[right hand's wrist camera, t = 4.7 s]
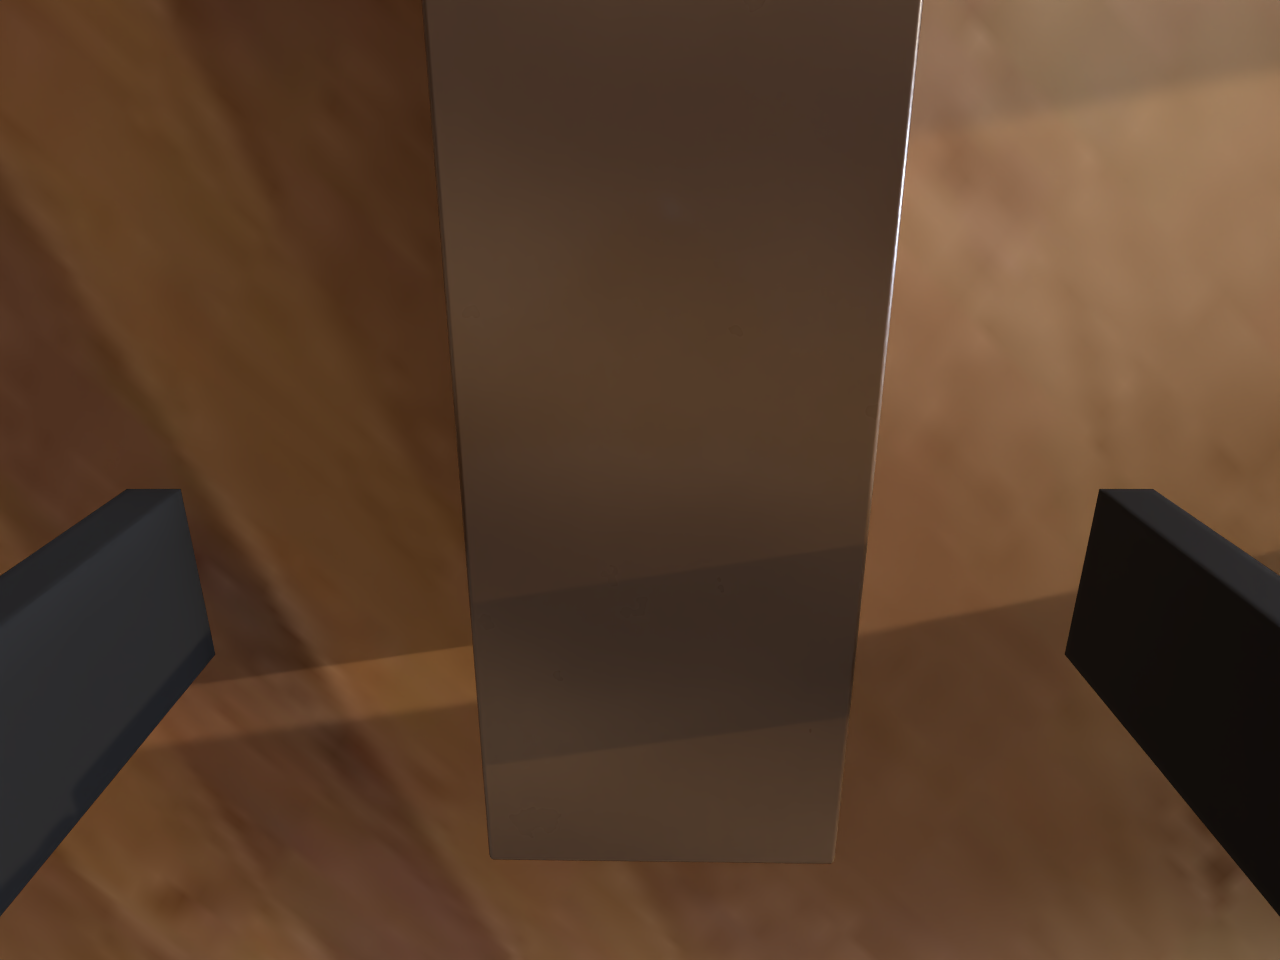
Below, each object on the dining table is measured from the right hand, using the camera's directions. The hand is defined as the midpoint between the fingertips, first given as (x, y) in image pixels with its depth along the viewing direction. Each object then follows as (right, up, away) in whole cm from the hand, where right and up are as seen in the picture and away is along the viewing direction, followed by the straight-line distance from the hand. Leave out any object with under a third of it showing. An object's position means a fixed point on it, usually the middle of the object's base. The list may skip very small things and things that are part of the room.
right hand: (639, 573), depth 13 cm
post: (0, +35, -5) cm, 35 cm away
